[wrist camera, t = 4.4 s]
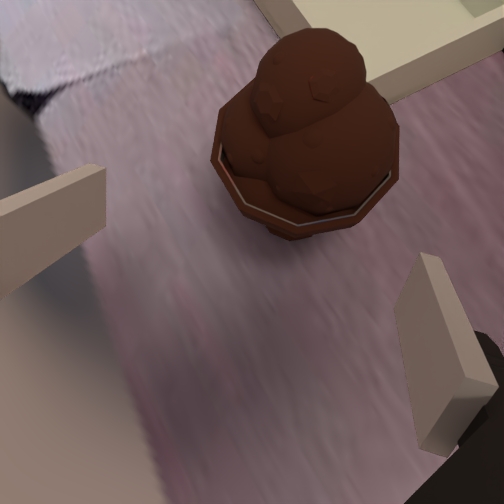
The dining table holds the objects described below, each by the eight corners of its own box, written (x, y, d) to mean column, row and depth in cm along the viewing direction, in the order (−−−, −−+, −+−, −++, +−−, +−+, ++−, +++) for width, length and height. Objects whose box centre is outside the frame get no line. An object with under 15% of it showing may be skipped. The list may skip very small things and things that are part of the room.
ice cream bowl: (198, 214, 31) (144, 83, 17) (289, 126, 33) (310, -56, 19) (297, 303, 29) (331, 238, 15) (388, 202, 31) (495, 60, 17)
